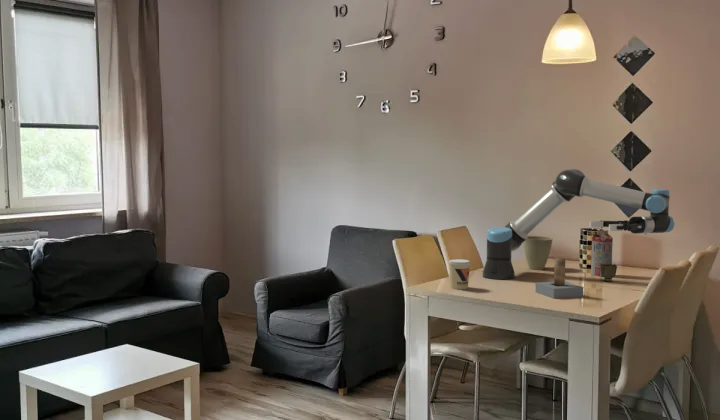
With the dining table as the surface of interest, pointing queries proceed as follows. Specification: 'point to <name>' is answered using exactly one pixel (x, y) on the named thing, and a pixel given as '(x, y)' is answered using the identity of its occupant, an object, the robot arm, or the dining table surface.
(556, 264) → the walnut peg
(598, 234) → the juice carton
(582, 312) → the dining table surface
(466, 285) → the coffee cup
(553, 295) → the socket block
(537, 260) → the plant pot
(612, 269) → the cup
